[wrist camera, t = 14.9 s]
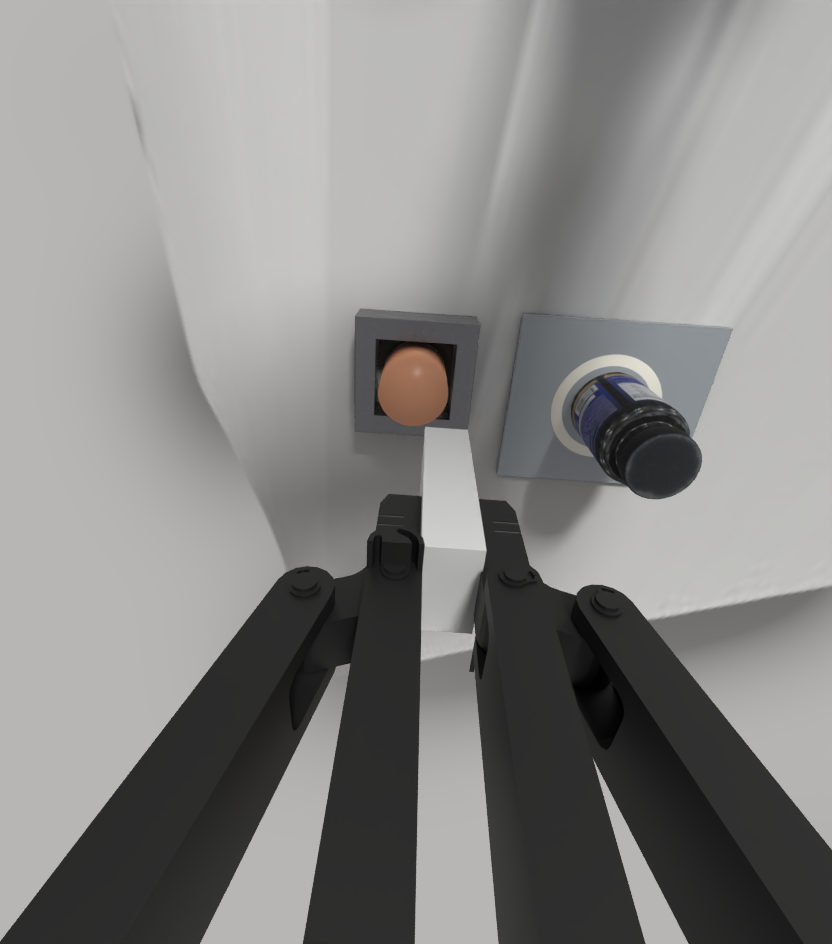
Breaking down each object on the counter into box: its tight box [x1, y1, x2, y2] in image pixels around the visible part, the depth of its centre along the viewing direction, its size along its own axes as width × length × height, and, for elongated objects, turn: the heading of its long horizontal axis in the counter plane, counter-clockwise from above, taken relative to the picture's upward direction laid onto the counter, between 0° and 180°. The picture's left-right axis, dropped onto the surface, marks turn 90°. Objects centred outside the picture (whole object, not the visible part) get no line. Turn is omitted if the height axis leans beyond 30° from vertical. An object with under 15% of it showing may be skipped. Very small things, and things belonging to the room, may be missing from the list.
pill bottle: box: [571, 372, 702, 499], centre depth 35 cm, size 6×6×11 cm
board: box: [497, 313, 733, 484], centre depth 40 cm, size 14×16×1 cm
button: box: [378, 341, 448, 426], centre depth 36 cm, size 5×5×5 cm
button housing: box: [355, 309, 480, 436], centre depth 38 cm, size 9×9×3 cm
